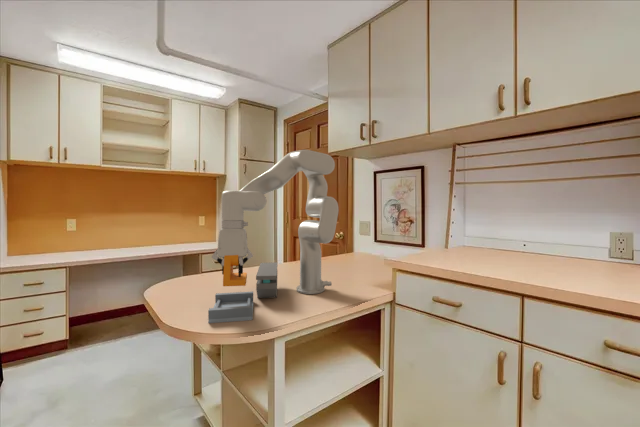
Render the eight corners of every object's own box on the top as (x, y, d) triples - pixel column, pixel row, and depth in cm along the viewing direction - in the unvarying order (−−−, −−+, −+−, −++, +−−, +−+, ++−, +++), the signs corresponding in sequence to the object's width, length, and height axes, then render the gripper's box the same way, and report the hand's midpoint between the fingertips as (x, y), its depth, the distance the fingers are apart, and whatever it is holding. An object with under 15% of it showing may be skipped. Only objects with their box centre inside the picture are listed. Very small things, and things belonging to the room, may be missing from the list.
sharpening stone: (260, 285, 139) (260, 262, 138) (277, 285, 140) (277, 262, 139) (256, 303, 114) (256, 276, 113) (276, 303, 115) (276, 275, 114)
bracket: (244, 287, 101) (245, 253, 100) (222, 288, 99) (223, 253, 99) (246, 279, 111) (247, 248, 111) (227, 280, 110) (227, 248, 110)
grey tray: (253, 301, 116) (253, 291, 116) (252, 319, 98) (252, 307, 98) (216, 304, 113) (216, 293, 113) (208, 323, 95) (208, 310, 95)
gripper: (256, 224, 110) (256, 272, 110) (209, 224, 106) (209, 274, 107) (256, 226, 102) (256, 277, 103) (206, 226, 99) (206, 279, 100)
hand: (232, 275), depth 105 cm, fingers closed on bracket, 4 cm apart
